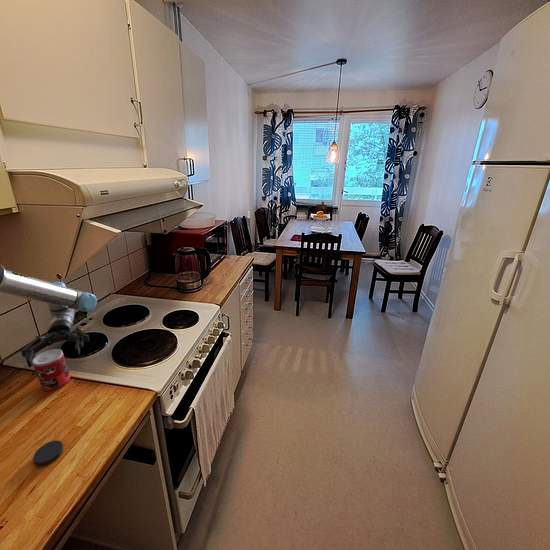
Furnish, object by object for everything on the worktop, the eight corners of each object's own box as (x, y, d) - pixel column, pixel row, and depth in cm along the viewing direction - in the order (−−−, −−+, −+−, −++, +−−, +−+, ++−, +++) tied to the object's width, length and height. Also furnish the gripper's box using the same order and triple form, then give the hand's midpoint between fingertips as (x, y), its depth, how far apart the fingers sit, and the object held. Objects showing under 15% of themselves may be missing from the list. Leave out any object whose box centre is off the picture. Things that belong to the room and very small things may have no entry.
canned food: (36, 389, 93) (25, 362, 89) (58, 372, 101) (49, 347, 97) (55, 393, 92) (45, 366, 88) (76, 376, 99) (68, 350, 95)
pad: (28, 465, 70) (26, 462, 70) (46, 443, 76) (45, 440, 76) (52, 466, 70) (51, 463, 70) (69, 443, 76) (67, 440, 76)
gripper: (98, 327, 123) (98, 355, 106) (24, 344, 111) (10, 378, 94) (94, 312, 120) (93, 338, 103) (18, 327, 108) (3, 359, 91)
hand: (54, 357), depth 98 cm, fingers open, 13 cm apart
